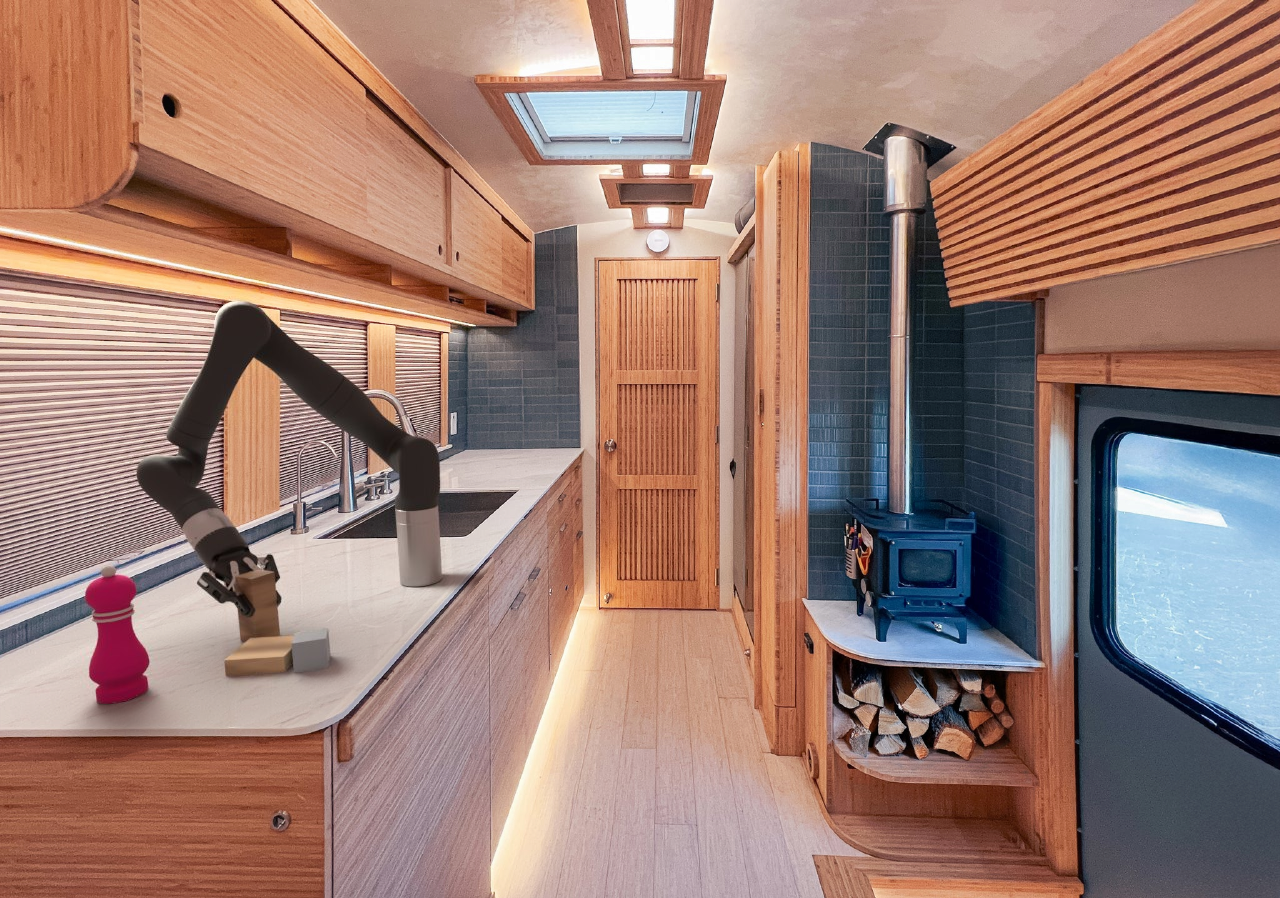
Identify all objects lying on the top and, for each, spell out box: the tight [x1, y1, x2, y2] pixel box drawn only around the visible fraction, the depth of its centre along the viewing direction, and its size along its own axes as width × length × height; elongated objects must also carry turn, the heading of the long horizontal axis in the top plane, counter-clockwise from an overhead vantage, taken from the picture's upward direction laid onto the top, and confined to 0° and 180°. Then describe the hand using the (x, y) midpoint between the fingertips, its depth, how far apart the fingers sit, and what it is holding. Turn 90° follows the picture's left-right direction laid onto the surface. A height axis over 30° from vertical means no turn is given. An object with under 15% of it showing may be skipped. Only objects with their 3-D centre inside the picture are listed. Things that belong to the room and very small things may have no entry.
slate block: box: [291, 627, 331, 674], centre depth 110 cm, size 5×5×5 cm
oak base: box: [223, 634, 295, 677], centre depth 112 cm, size 9×9×3 cm
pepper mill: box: [84, 565, 150, 705], centre depth 100 cm, size 7×7×20 cm
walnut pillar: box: [235, 569, 281, 643], centre depth 122 cm, size 4×4×12 cm
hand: (264, 609), depth 121 cm, fingers closed on walnut pillar, 4 cm apart
